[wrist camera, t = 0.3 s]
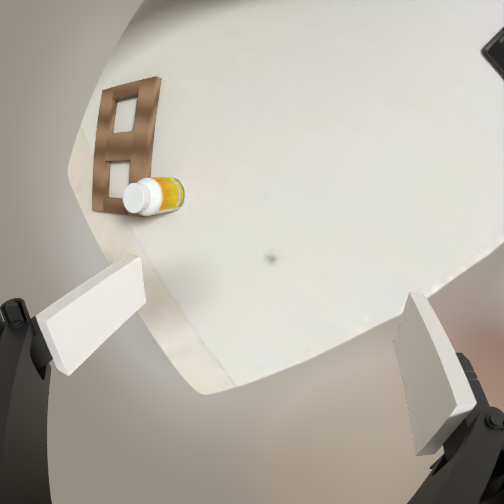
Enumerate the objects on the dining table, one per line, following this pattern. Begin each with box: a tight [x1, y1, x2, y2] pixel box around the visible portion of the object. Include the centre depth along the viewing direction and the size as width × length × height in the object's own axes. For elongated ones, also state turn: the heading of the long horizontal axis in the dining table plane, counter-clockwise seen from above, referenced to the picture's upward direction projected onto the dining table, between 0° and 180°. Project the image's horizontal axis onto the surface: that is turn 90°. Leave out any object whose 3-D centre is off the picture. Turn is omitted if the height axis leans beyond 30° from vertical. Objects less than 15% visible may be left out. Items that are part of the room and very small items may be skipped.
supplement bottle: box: [123, 178, 186, 216], centre depth 38 cm, size 5×5×10 cm
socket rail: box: [92, 77, 162, 217], centre depth 43 cm, size 24×14×2 cm, turn 174°
